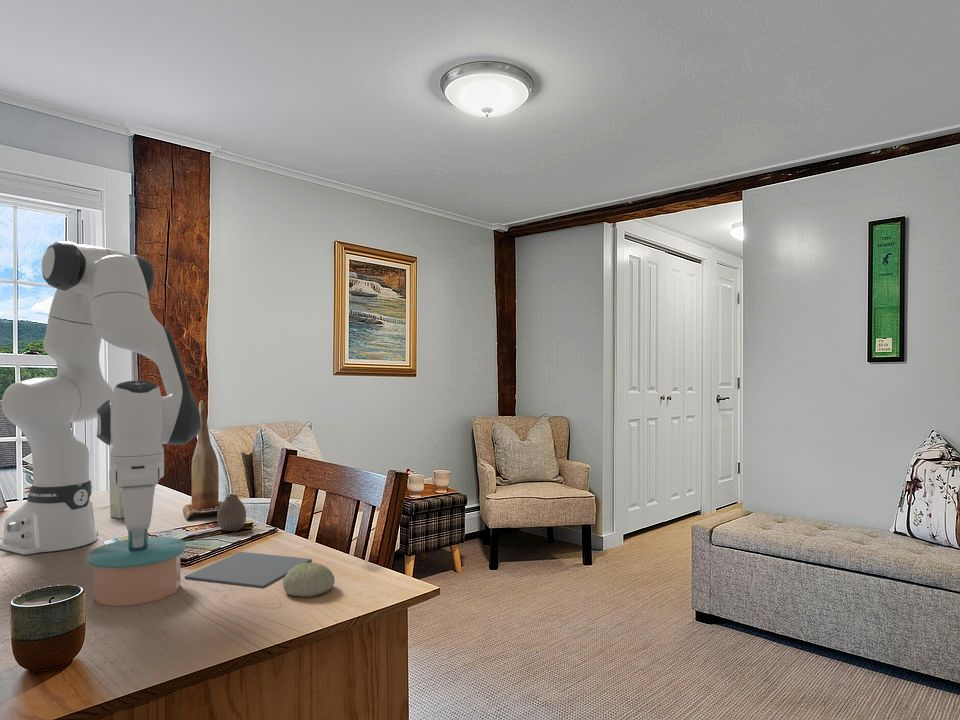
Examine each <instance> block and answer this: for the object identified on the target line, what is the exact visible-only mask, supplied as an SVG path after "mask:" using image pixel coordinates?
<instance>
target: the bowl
mask: <svg viewBox="0 0 960 720" xmlns="http://www.w3.org/2000/svg"><path fill="white" fill-rule="evenodd" d="M180 587H181V554H180V555H178V556H176V557H174V558H172V559H169V560H166V561H162V562H158V563H154V564H149V565H143V566H136V567H126V568H104V567H97V566H93V600H95V602H96V603H97V604H98V605H103V606H109V607H110V606H112V607H122V606H124V607H125V606H135V605H136V606H138V605H143V604H146V603H151V602H155V601H159V600H162V599H164V598H166V597H169V596H171V595H172V594H175V593H177V591H179V588H180Z"/></svg>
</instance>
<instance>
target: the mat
mask: <svg viewBox="0 0 960 720" xmlns="http://www.w3.org/2000/svg"><path fill="white" fill-rule="evenodd" d="M309 562H310V563H311V562H313V561H312V558H307V557H306V558H305V557H304V558H303V557H296V556H295V557H294V556H284V555H276V554H267V553H266V554H265V553H256V552H247V551H239V552H237V553H235V554H231V555H229V556H227V557H225V558H223V559H221V560H219V561H216V562H214V563H212V564H209V565H207V566H204V567H203V568H200V569H198V570H196V571H194V572H191V573H189V574H187V575H184V579H186V580H195V581H203V582H204V581H205V582H213V583H221V584H229V585H236V586H237V585H238V586H244V587H245V586H246V587H255V588H262V589H263V588H265V587H267V586H269V585H271V584H273V583H275V582H276V581H278V580H280V579H281V578H283V577H285V576H286V574H287V573H288V571H289V570H290V569H291V568H293V567H294V566H296V565H298V564H301V563H309Z"/></svg>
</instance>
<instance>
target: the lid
mask: <svg viewBox="0 0 960 720" xmlns="http://www.w3.org/2000/svg"><path fill="white" fill-rule="evenodd" d="M148 529H149V528H148ZM148 529H145V530H144V545H143V546H142V547H137V548H134V547H133V543H132V531H128V530H127V534H128V535H127V539H124V540H123V539H122V540H118V541H114V542H110V543H106V544H103V545H100V546H98V547H96V548H93V549H92V550H90V551H89V552H88V554H87V562H88V564H89V565H91V566H93V567H94V566H97V567H104V568H126V567H136V566H143V565H149V564H154V563H158V562H162V561H166V560H169V559H172V558H174V557H176V556H178V555H180V556H181V555H182V554H183V553H184V552H185V550H186V542H185V541H184V540H183V539H180V538H177V537H170V536H169V537H168V536H148V533H149V531H148Z"/></svg>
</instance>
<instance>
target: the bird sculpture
mask: <svg viewBox="0 0 960 720" xmlns="http://www.w3.org/2000/svg"><path fill="white" fill-rule="evenodd" d="M205 407H206V406H205V403H204V400H203V399H201V400H200V401H199V405H198V409H199V412H200V416H201V426H200V431H199V432H198V433H197V441H196V446H195V448H194V452H193V456H192V459H191V503H190V504H185V505H184V506H183V508H182V513H183V516H184V519H185V521H188V519H189V518H190V517H191V516H192V515H195V513H201V512H210V511H216V510H217V511H218V509H219V507H220V505H221V504H222V503H223V501H222V500H221V501H220V500H219V496H220V495H219V493H220V492H219V488H220V485H219V482H220V475H219V462H218V457H217V455H216V452H215V449H214V447H213V445H212V442H211V438H210V437H211V436H210V432H209V425H208V420H207V415H206V408H205Z"/></svg>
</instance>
